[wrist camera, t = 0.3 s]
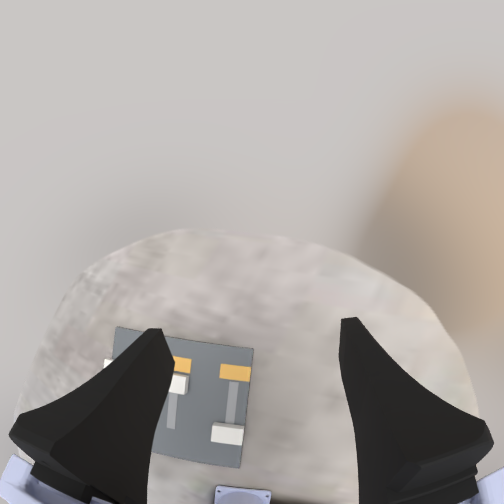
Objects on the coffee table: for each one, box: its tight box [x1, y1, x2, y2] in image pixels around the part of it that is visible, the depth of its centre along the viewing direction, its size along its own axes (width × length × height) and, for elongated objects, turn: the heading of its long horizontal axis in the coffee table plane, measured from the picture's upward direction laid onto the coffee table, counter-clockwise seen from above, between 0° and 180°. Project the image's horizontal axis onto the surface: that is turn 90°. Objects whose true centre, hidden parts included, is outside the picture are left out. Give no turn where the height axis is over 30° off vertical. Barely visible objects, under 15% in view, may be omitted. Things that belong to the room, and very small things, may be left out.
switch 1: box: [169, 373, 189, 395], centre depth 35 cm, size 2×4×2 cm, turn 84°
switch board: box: [112, 327, 253, 468], centre depth 36 cm, size 18×20×1 cm
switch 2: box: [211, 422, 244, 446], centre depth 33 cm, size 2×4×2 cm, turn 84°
